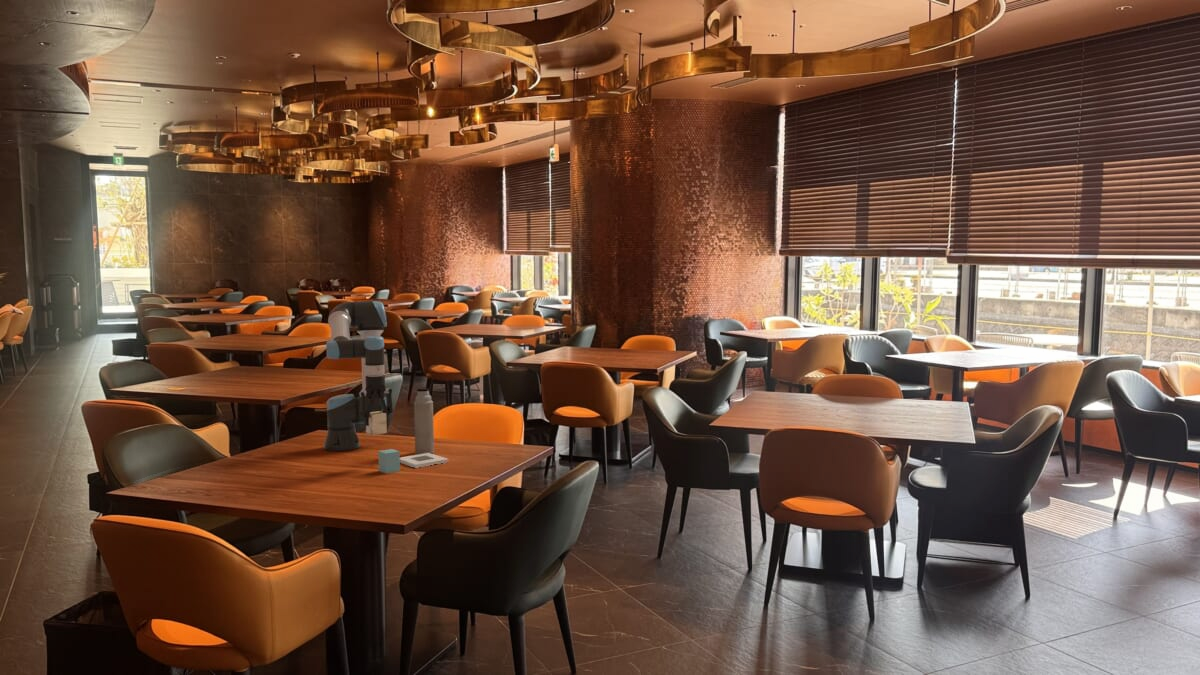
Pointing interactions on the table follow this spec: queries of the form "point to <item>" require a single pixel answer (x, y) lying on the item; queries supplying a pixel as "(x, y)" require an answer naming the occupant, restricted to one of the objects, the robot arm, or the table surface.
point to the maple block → (378, 423)
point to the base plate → (422, 460)
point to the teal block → (389, 461)
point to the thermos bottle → (423, 422)
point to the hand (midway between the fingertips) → (376, 432)
